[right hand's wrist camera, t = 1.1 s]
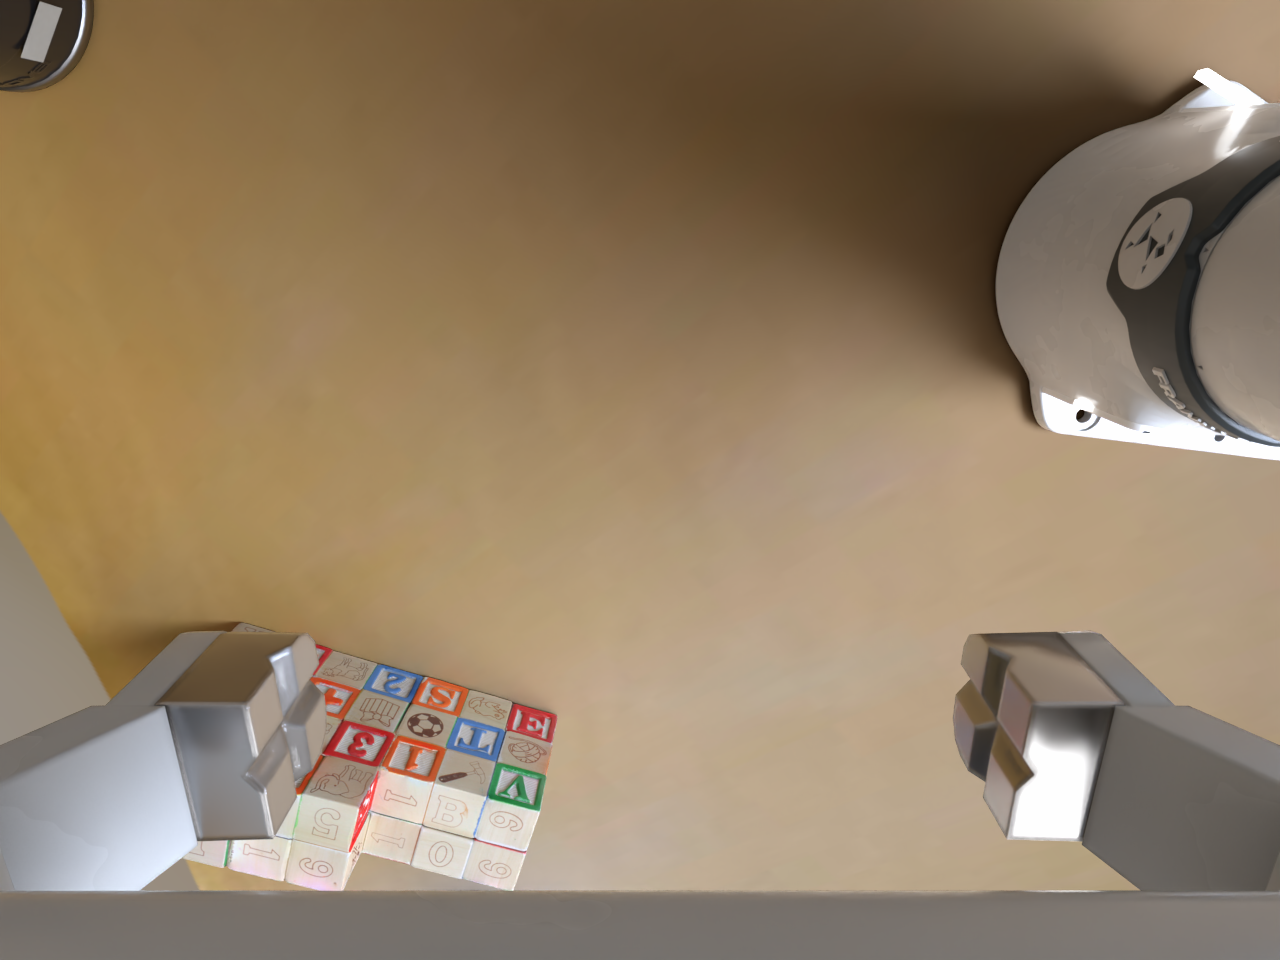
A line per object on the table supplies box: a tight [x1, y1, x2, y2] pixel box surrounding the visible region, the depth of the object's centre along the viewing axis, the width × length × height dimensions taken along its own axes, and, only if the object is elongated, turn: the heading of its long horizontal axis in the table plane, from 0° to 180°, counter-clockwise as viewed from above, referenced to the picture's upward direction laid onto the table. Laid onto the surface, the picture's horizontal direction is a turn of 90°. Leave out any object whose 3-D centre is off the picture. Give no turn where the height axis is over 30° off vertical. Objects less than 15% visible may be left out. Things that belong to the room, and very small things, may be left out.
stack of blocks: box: [182, 623, 557, 891], centre depth 47 cm, size 21×6×12 cm, turn 72°
